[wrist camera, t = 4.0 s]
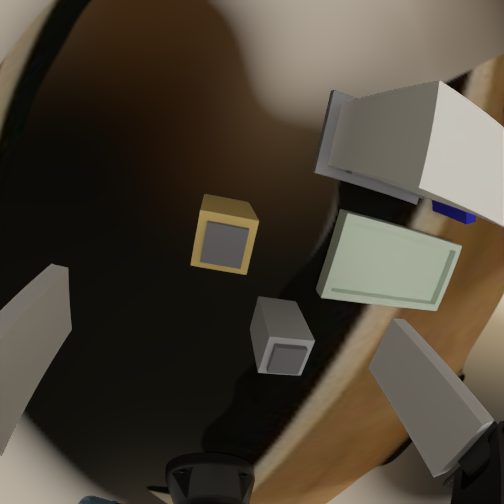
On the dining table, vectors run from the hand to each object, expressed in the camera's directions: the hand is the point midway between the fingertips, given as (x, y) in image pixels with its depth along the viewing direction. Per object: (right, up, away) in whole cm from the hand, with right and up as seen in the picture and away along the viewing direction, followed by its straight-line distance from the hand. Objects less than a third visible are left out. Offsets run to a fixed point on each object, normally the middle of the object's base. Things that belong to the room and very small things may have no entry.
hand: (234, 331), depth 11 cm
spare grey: (+3, -4, +20) cm, 21 cm away
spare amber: (-2, +6, +16) cm, 18 cm away
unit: (+13, +13, +16) cm, 24 cm away
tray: (+16, +2, +20) cm, 26 cm away
